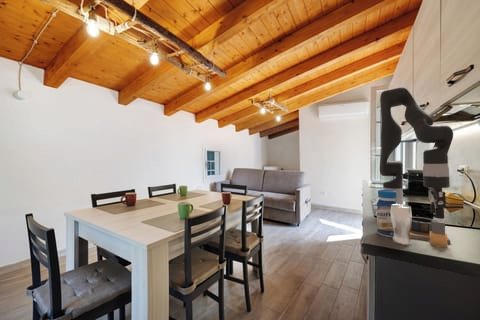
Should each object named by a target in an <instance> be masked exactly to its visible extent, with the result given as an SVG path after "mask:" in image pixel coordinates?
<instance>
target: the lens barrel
mask: <svg viewBox="0 0 480 320" xmlns="http://www.w3.org/2000/svg"><path fill="white" fill-rule="evenodd" d="M431 221H436V220H435V219H432V218H427V217H423V216H422V217H421V216H412V223H411V228H410V230H412V231H415V232H419V233H426V234H430V231H431Z"/></svg>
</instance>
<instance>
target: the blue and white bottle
mask: <svg viewBox="0 0 480 320" xmlns="http://www.w3.org/2000/svg"><path fill="white" fill-rule="evenodd" d="M377 197H378V198H379V199H378V200H377V202H376V209H375V210H376V211H375V212H376V227H377V228H376V231H377V234H378V235H381V236H383V237H388V238H393V228H392V223H391V218H390V208H391V205H392V204H398V203H397V202H396V201H395V199H396V191H393V190H383V189H378V190H377Z"/></svg>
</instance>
